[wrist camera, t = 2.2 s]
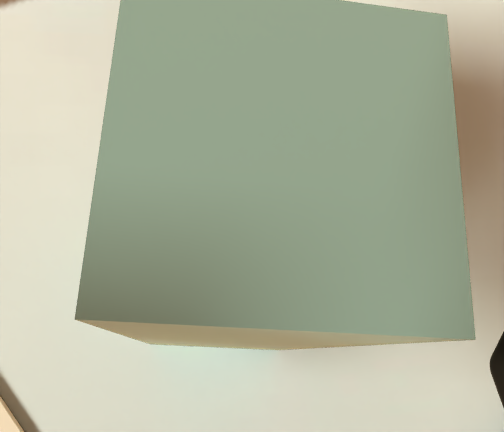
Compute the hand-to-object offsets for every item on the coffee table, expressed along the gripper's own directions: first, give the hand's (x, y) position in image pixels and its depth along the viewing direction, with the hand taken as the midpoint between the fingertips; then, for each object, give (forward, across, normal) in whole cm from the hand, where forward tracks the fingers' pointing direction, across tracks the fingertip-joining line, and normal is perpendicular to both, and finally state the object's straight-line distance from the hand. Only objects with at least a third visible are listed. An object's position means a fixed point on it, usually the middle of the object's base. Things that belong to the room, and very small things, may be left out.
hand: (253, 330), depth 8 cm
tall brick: (+8, 0, +5) cm, 10 cm away
